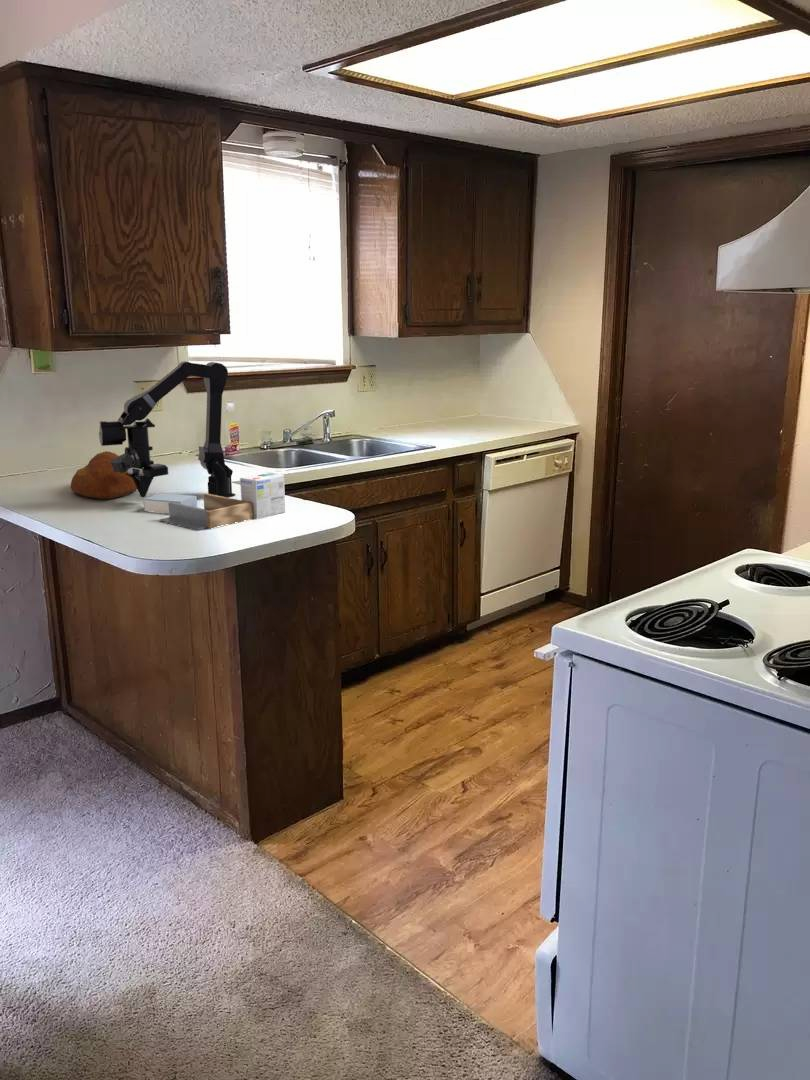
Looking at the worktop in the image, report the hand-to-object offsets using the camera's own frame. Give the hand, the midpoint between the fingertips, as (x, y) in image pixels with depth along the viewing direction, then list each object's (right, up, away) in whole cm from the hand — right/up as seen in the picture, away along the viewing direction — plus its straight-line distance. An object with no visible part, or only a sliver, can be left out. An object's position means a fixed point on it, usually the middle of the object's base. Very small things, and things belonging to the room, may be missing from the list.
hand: (142, 496), depth 249 cm
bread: (-17, +2, +18) cm, 24 cm away
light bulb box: (+37, -6, -12) cm, 40 cm away
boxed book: (+10, -4, -7) cm, 13 cm away
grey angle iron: (+18, -8, -24) cm, 31 cm away
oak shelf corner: (+23, -7, -18) cm, 30 cm away
